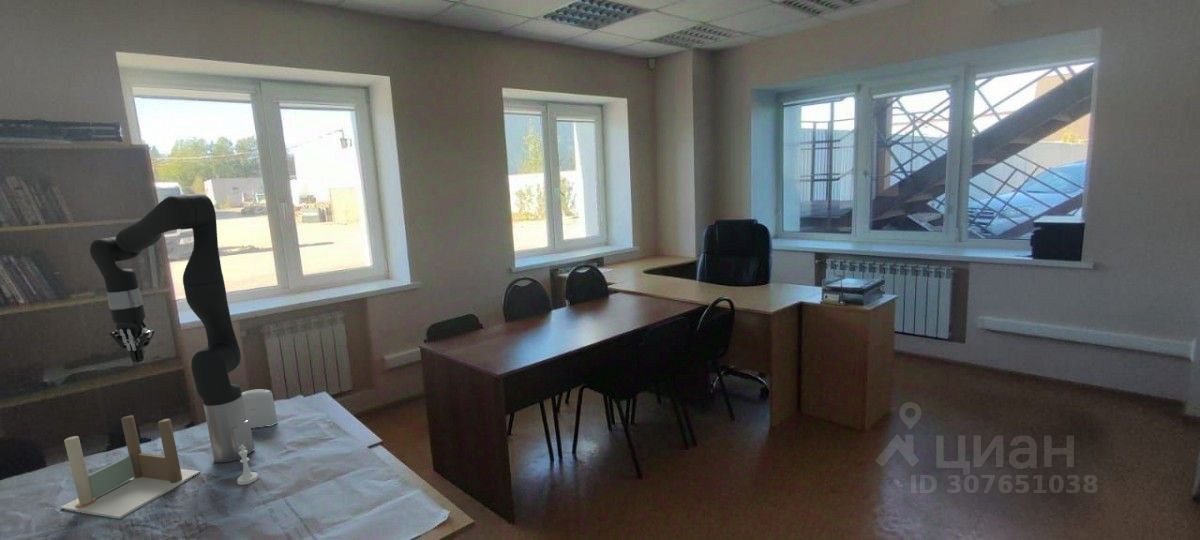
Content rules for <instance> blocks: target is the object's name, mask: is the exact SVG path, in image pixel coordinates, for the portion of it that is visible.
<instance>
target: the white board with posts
mask: <svg viewBox="0 0 1200 540" xmlns="http://www.w3.org/2000/svg"><path fill="white" fill-rule="evenodd" d="M120 420H121V425H122V429H123V433H124V439H125V444H126V447H127V452H128V456H130V457H131V461H132V466H133V470H134V475H135V477H133V478H131V479H129V480H128V481H126V482H124V483H122V484H120V485H118V486H116V487H114V488H112V489H110V490H109V491H107V492H105V493H103V494H101V495H99V496H97V497H95V498H93V501H91V502H89V503H87V504H83V505H80V503H79V499H78V498H76V499H73V500H72V501H69V502H68V503H66V504H64V505H61V506H60V510H62V509H65V510H64V511H68V510H69V512H74V511H75V513H80V512H81V513H82V514H88V515H93V516H98V517H105V518H112V519H116V520H120V519H122V518H125V517H126V516H128V515H130V514H131V513H133V512H134V511H136V510H138V509H140V508H143V506H145V505H147V504H149V503H151V502H153V501H154V500H155V499H158V498H160V497H161V496H163V495H165V494H166V493H168V492H170V491H172V490H174V489H175V488H177V487H179V486H180V485H182V484H183V483H186V482H188V481H189V480H191V479H193V478H194V477H196V476H198V475H199V474H198V473H200V474H201V471H200V470H192V469H185V468H181V465H180V460H179V456H178V451H177V444H176V441H175V436H174V431H173V427H172V426H173V425H172V422H171V421H172V420H171V418H164V419H161V420H159V421H158V422H157V425H158V430H159V434H160V439H161V444H162V448H163V452H164V455H162V454H155V453H154V454H153V453H146V452H142V450H141V448H142V447H141V443H140V439H139V435H138V430H137V426H136V425H137V424H136V421H135V417H134V415H131V414H130V415H126V416H123V417H121V418H120ZM197 474H198V475H197ZM195 475H196V476H195ZM193 476H194V477H193ZM192 477H193V478H192ZM190 478H191V479H190ZM188 479H189V480H188ZM185 481H186V482H185Z"/></svg>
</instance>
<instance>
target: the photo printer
mask: <svg viewBox="0 0 1200 540" xmlns="http://www.w3.org/2000/svg"><path fill="white" fill-rule="evenodd" d="M241 393H242V399H243V405H244V410H245V416H246V420H249V421H250V426H251V428H253V429H255V428H254V427H259V426H266V425H272V424H274V423H276V422H277V423H278V416H277V411H276V406H275V399H274V395H273V394H274V393H273V392H272V390H269V389H260V388H259V389H258V388H257V389H251V390H250V389H249V390H246V391H243V392H241Z"/></svg>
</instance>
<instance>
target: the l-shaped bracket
mask: <svg viewBox="0 0 1200 540" xmlns="http://www.w3.org/2000/svg"><path fill="white" fill-rule="evenodd" d="M64 445H65V449H66V454H67V458H68V462H69V467H70V470H71V474H72V477H73V478H72V479H73V483H74V486H75V491H76V494H77V499H79V503H80V505H83V504H87V503H89V502H91V501H93V498H95V497H97V496H99V495H101V494H103V493H105V492H107V491H109V490H110V489H112V488H114V487H116V486H118V485H120V484H122V483H124V482H126V481H128V480H129V479H131V478H133V477H135V475H134V470H133V466H132V461H131V457H130V456H129V455H126V456H125V457H122V458H120V459H119V460H118V459H117V460H116V461H114V462H112V463H109V464H107V465H106V466H104V467H101V468H100V469H98V470H96V471H93V472H91V473H89V474H88V470H87V467H86V462H85V459H84V453H83V450H82V445H81V441H80V437H79V436H78V435H75V436H69V437H67V438H65V439H64Z"/></svg>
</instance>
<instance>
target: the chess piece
mask: <svg viewBox="0 0 1200 540" xmlns="http://www.w3.org/2000/svg"><path fill="white" fill-rule="evenodd" d="M239 449H241V450H242V451H240V452H239V455H240V456H241V458H242V459H240V460H239V462H240V463H241V464H242V470H243V471H242V475H240V476H239V477H238V478H237V480H236V482H237V483H236V484H237V485H238V486H239V485H241V486H242V485H249V484H251V483H254V482H255V481H257V480H258V479H259V477H260V476H259V474H258V472H254V471H251V469H250V466H249V463H248V462H249V461H250V457H247V456H248V455H247V453H248V451H247V450H244V449H246V447H244V446H243V445H241V447H239Z"/></svg>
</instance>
